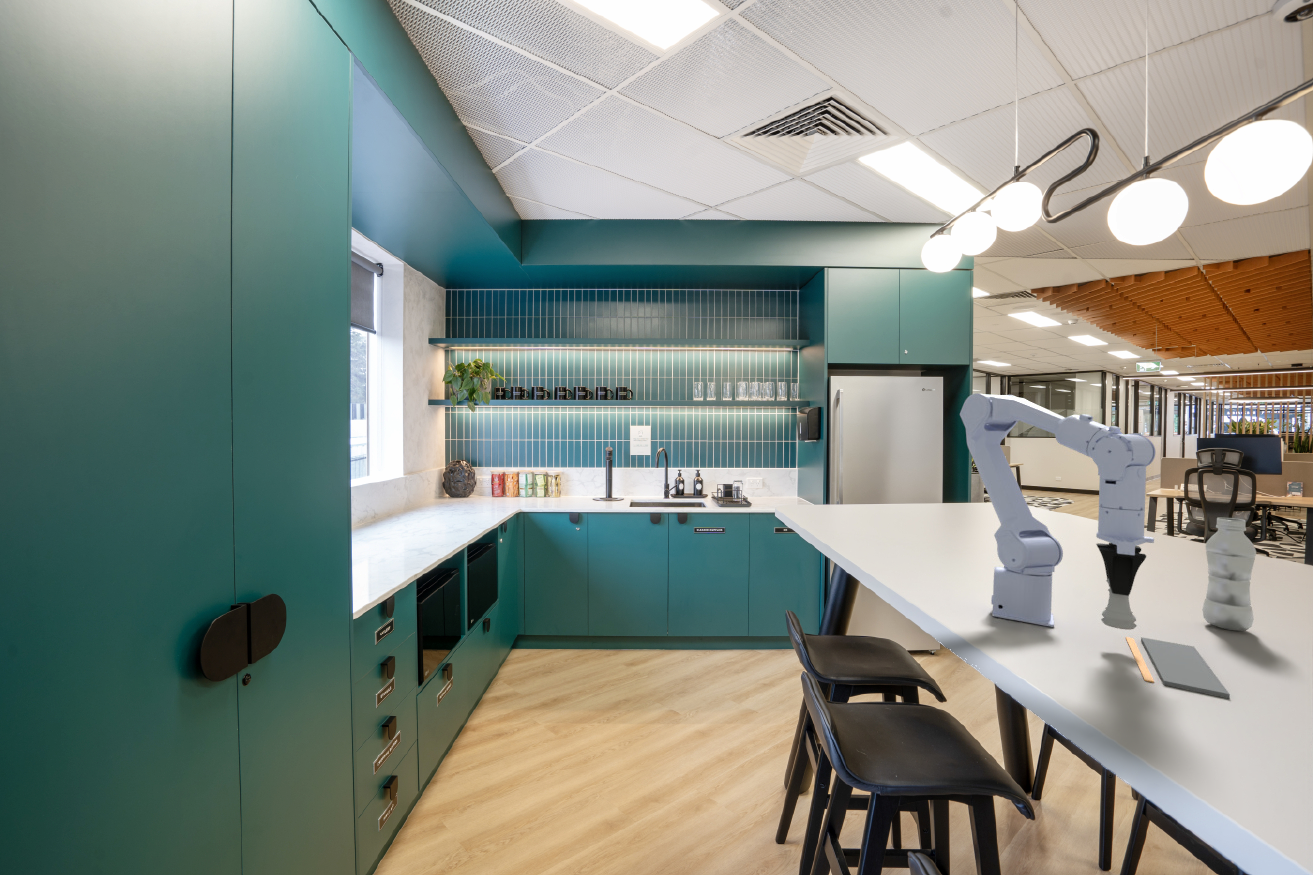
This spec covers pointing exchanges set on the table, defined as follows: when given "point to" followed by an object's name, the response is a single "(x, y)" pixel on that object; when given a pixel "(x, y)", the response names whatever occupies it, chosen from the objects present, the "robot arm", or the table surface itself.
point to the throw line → (1139, 660)
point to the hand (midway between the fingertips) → (1118, 591)
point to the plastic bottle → (1229, 576)
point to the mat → (1183, 667)
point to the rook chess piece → (1118, 612)
